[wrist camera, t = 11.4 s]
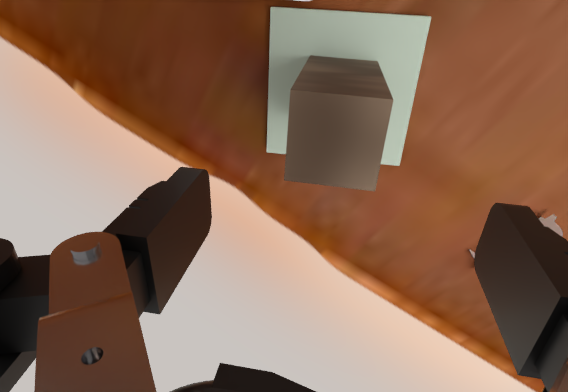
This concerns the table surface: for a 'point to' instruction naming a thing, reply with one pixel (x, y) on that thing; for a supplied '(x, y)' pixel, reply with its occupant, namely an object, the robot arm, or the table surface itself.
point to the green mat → (352, 45)
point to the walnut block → (337, 123)
